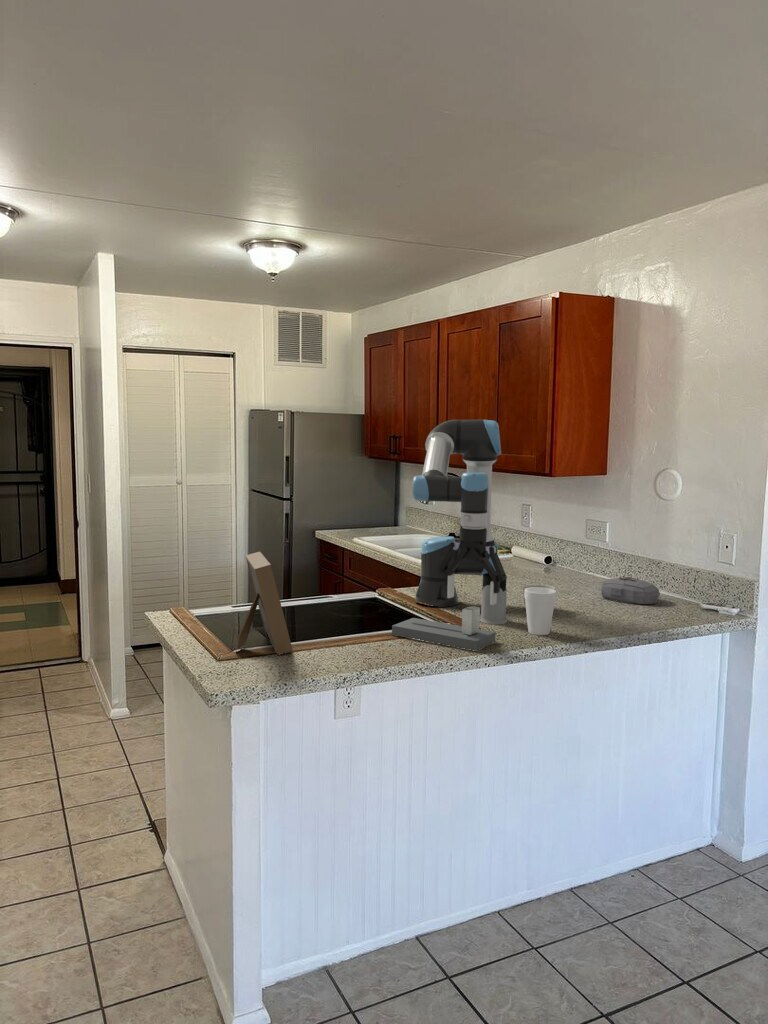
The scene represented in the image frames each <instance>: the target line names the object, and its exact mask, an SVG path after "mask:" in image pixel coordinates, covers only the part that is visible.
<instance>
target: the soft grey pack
mask: <svg viewBox="0 0 768 1024" xmlns="http://www.w3.org/2000/svg"><path fill="white" fill-rule="evenodd" d="M660 595H661V593H660V590H659V588H658V587H657V586H656V585H655V584H653V583H650V582H649V581H645V580H642V579H639V578H635V577H634V578H633V577H631V576H622V577H617V578H608V579H606V580H605V581H604V582H603V583H602V585H601V597H602V598H603V599H606V598H607V600H609V599H611V600H610V601H613V600H617V601H616V602H618V601H622V602H621V603H623V602H628V603H627V604H631V603H636V604H635V605H653V603H654V604H657V602H658V600H659V597H660Z"/></svg>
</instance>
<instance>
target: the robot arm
mask: <svg viewBox="0 0 768 1024" xmlns="http://www.w3.org/2000/svg"><path fill="white" fill-rule="evenodd" d="M424 446H425V451H426V454H425V458H424V464H423V469H422V473H421V475H420V474H419V475H415V476H414V477H413V479H412V498H413V499H414V501H420V502H425V503H427V502H449V503H450V502H451V503H452V502H454V503H460V521H459V523H460V526H461V527H460V528H459V540H460V541H459V540H457V541H456V539H455V537H454V536H448V535H447V536H446V535H445V536H436V537H431V538H427V539H424V540H423V541H422V543H421V548H420V549H421V550H420V551H421V552H420V555H421V556H420V582H419V584H418V588H417V591H416V593H415V595H414V596H415V598H414V599H415V600H416V601H419V602H422V603H426V604H429V605H433V606H438V607H437V608H449V607H454V606H457V605H458V604H459V596H458V595H459V594H458V592H457V589H456V585H455V575H465V576H467V575H469V576H479V577H481V576H483V574H486V573H488V574H489V575H490V577H491V578H492V580H493V581H492V582H491V584H490V605H494V604H496V603H497V593H499V591H500V581H503V580H505V579H506V580H507V578H508V577H507V574H506V572H505V569H504V566H503V564H502V562H501V560H500V556H499V555H498V551H499V543H498V542H496V541H495V536H494V535H493V534H492V532H491V520H492V519H491V515H492V514H491V511H492V510H491V509H492V484H493V482H492V481H493V480H492V479H493V465H494V464H495V463H496V462H497V461H498V456H500V455H502V448H501V447H502V446H501V436H500V427H499V423H498V422H497V421H496V420H492V419H491V420H490V419H489V420H488V419H450V420H446V421H443V422H442V423H439V424H437V425H436V426H435V427H434V428H433V429H432V430H431V431H430V432H429V434H428V435H427V437H426V439H425V444H424ZM451 455H462V461H463V462H464V463H465V464H466V472H463V473H462V475H461V476H452V475H451V476H448V473H449V472H448V470H449V463H450V458H451V457H450V456H451ZM415 600H414V601H415ZM448 606H449V607H448Z"/></svg>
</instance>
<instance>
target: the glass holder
mask: <svg viewBox="0 0 768 1024" xmlns="http://www.w3.org/2000/svg"><path fill="white" fill-rule="evenodd" d="M492 581H493V580H492V578H491V577H490V575H489V574H488V573H486V574H483V575H482V587H481V607H480V612H481V613H480V621H481V622H480V621H479V622H480V623H482V622H484V623H483V624H486V623H489V624H488V625H503V624H507V623H508V620H507V592H508V591H507V578H506V579H505V580H503V581H500V591H499V593H497V603H496V604H494V605H490V584H491V582H492ZM506 622H507V623H506Z"/></svg>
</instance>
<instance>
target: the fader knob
mask: <svg viewBox="0 0 768 1024" xmlns="http://www.w3.org/2000/svg"><path fill="white" fill-rule="evenodd" d="M461 611H462V613H461V614H462V615H461V618H462V619H461V626H462V633H463V634H469V635H472V634H474V633H477V632H479V629H480V618H481V613H480V612H481V607H480V606H479V607H478V606H473V605H470V606H467V607H465V608H462V610H461Z"/></svg>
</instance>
